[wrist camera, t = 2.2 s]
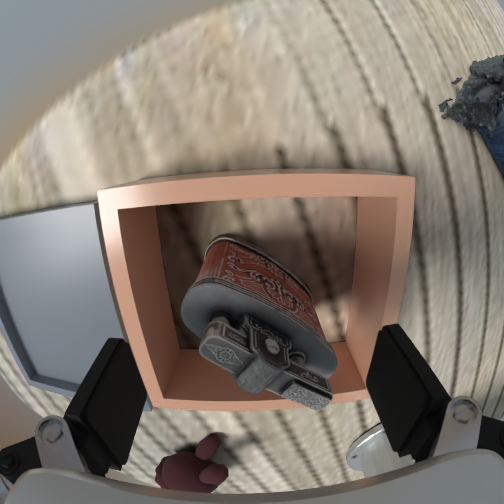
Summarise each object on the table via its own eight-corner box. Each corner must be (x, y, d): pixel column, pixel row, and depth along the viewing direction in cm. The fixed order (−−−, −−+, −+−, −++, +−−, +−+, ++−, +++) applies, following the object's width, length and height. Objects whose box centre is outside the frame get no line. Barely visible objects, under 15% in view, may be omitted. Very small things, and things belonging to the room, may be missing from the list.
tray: (107, 198, 17) (93, 204, 15) (156, 396, 23) (151, 411, 21) (-17, 221, 18) (-31, 227, 16) (36, 374, 23) (28, 384, 22)
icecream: (190, 517, 24) (260, 482, 21) (137, 511, 21) (193, 478, 18) (182, 477, 30) (243, 431, 27) (133, 467, 27) (183, 419, 24)
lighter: (196, 263, 19) (149, 360, 9) (224, 221, 18) (194, 295, 9) (291, 323, 20) (314, 434, 11) (321, 288, 20) (369, 391, 10)
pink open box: (371, 169, 17) (415, 177, 12) (355, 349, 21) (376, 396, 16) (138, 179, 17) (97, 190, 12) (170, 357, 22) (153, 406, 16)
